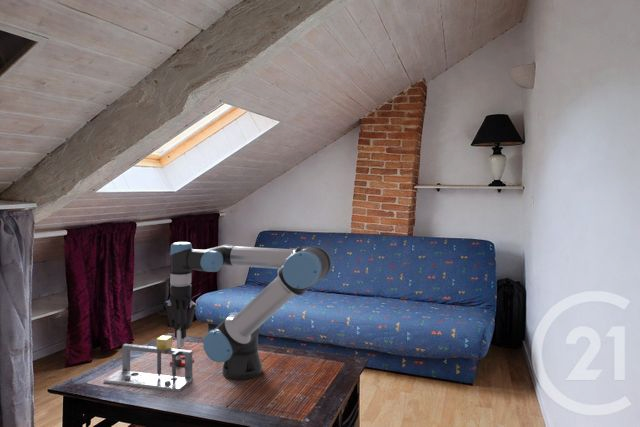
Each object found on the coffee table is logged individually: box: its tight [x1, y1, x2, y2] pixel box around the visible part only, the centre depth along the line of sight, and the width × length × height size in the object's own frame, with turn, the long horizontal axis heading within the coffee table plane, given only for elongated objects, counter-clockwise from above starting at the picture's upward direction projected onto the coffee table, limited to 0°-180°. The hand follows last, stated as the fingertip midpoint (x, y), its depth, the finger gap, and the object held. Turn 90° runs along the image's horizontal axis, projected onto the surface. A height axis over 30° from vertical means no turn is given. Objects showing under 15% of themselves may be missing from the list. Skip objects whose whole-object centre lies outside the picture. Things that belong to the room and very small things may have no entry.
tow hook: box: [169, 347, 195, 367], centre depth 189 cm, size 8×13×9 cm
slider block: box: [155, 335, 173, 376], centre depth 174 cm, size 4×6×13 cm, turn 168°
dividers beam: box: [121, 343, 193, 379], centre depth 175 cm, size 28×5×10 cm, turn 78°
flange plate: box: [103, 369, 193, 393], centre depth 170 cm, size 30×9×2 cm, turn 78°
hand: (180, 346), depth 174 cm, fingers closed
